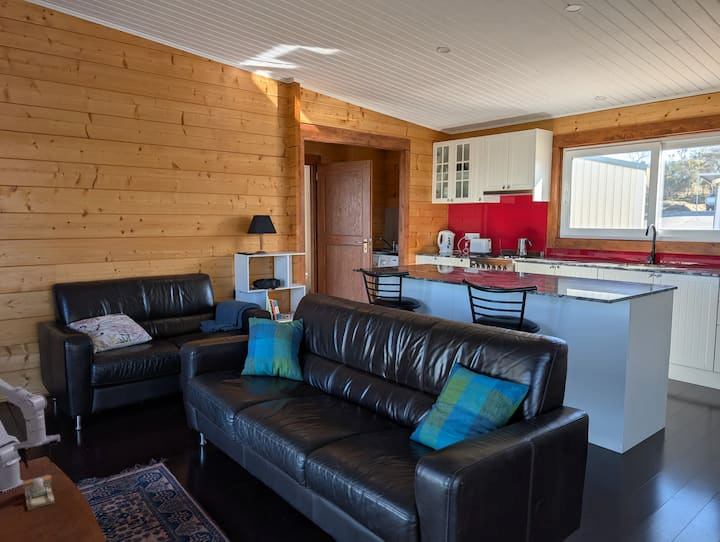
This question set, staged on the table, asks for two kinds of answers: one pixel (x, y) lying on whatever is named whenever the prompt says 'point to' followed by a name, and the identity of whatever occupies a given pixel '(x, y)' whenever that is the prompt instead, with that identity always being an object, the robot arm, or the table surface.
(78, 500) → the table surface
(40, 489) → the greenish grey block
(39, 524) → the table surface
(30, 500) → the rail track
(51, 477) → the orange brown bar
